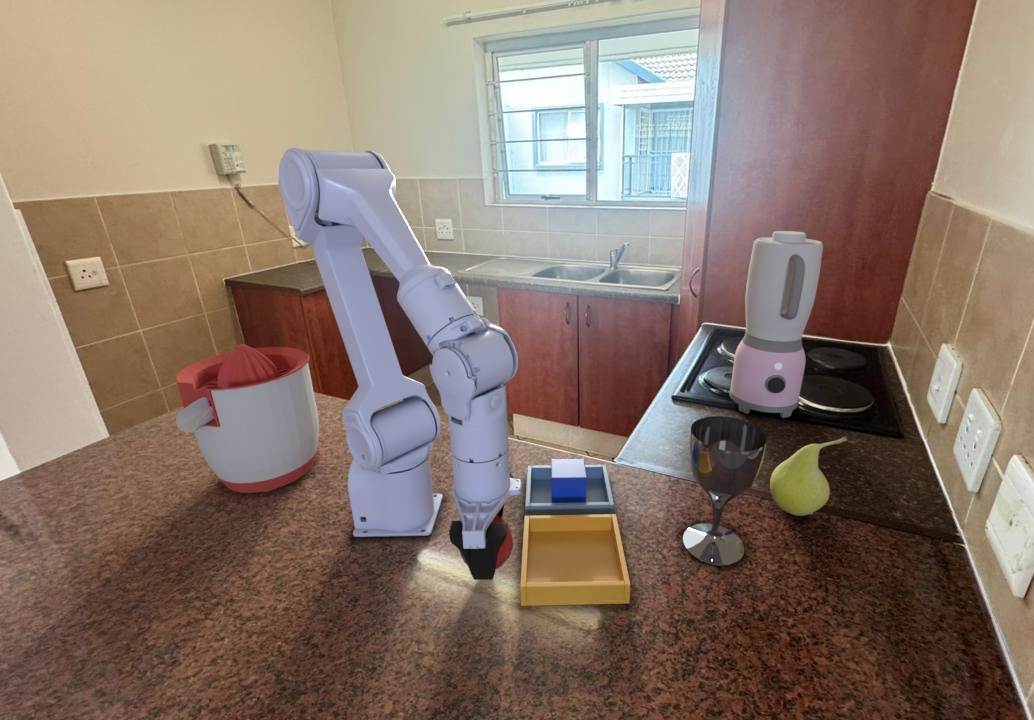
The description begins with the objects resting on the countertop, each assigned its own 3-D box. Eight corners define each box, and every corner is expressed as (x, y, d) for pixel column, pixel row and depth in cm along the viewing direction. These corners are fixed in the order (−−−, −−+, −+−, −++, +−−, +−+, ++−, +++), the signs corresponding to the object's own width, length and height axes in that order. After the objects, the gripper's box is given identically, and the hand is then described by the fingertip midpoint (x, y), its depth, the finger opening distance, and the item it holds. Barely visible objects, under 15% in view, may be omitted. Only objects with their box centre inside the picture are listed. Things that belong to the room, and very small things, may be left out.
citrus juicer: (169, 496, 68) (123, 359, 61) (278, 437, 84) (252, 322, 76) (249, 524, 63) (210, 378, 56) (351, 456, 78) (330, 334, 71)
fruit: (770, 488, 70) (784, 411, 66) (830, 505, 67) (848, 425, 62) (762, 514, 65) (776, 433, 61) (826, 534, 61) (846, 449, 57)
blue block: (551, 507, 65) (551, 478, 64) (551, 486, 70) (551, 458, 68) (585, 506, 66) (586, 477, 64) (583, 486, 70) (584, 458, 68)
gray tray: (525, 522, 63) (525, 506, 62) (527, 480, 72) (527, 465, 71) (613, 521, 64) (614, 504, 63) (605, 479, 72) (606, 464, 71)
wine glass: (748, 529, 62) (765, 422, 57) (748, 575, 55) (768, 457, 50) (682, 516, 65) (693, 411, 59) (675, 558, 57) (687, 444, 52)
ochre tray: (520, 606, 51) (519, 587, 50) (524, 532, 62) (524, 515, 61) (629, 603, 51) (630, 584, 51) (615, 530, 62) (616, 513, 61)
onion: (504, 593, 53) (501, 532, 50) (453, 585, 54) (447, 524, 51) (519, 554, 58) (517, 497, 55) (472, 547, 59) (468, 490, 56)
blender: (724, 388, 102) (745, 228, 91) (787, 393, 100) (816, 229, 89) (737, 425, 88) (763, 238, 76) (810, 430, 86) (849, 240, 74)
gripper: (515, 490, 44) (520, 608, 48) (522, 414, 57) (525, 512, 62) (434, 491, 43) (447, 609, 48) (461, 415, 57) (468, 513, 62)
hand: (487, 555), depth 55 cm, fingers closed on onion, 6 cm apart
